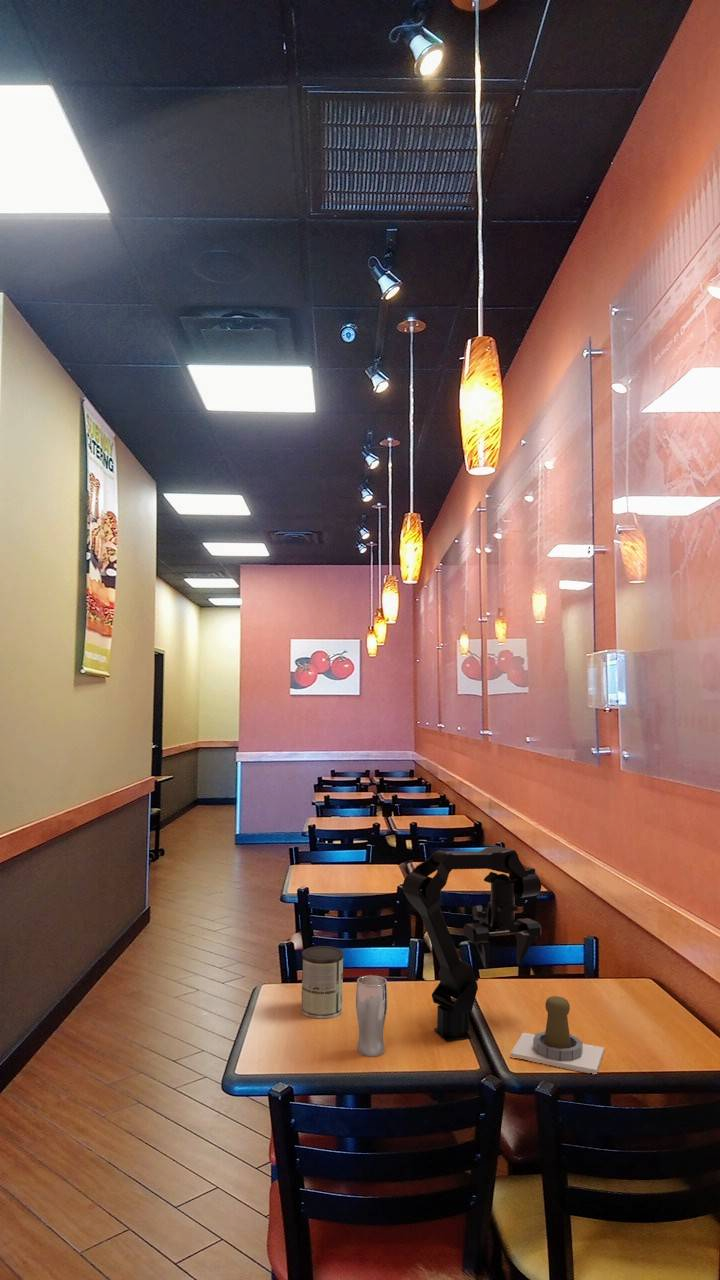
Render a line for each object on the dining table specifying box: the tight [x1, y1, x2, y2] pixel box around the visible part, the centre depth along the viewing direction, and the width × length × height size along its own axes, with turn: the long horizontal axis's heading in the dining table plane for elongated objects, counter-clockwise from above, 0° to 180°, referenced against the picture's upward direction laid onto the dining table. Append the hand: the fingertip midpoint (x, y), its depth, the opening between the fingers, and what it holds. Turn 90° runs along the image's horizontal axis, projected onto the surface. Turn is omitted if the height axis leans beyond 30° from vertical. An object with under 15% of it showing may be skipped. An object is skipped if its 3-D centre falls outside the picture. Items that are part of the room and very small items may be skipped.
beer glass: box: [355, 975, 389, 1058], centre depth 177 cm, size 7×7×15 cm
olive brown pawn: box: [544, 995, 571, 1049], centre depth 177 cm, size 6×6×11 cm
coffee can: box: [300, 945, 345, 1020], centre depth 200 cm, size 10×10×14 cm
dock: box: [510, 1030, 605, 1075], centre depth 177 cm, size 18×12×3 cm, turn 66°
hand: (502, 966), depth 195 cm, fingers open, 9 cm apart
